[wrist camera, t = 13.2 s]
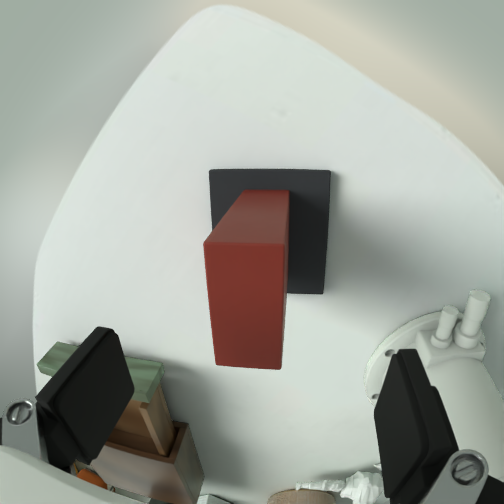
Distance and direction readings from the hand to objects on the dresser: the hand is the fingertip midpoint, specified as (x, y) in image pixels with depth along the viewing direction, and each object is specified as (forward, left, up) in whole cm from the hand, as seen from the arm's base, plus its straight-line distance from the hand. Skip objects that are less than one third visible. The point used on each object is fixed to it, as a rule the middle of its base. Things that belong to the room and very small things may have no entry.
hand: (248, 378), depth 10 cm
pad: (0, 0, -14) cm, 14 cm away
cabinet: (+30, -17, -14) cm, 37 cm away
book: (-1, -1, -13) cm, 13 cm away
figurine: (+31, +10, -14) cm, 36 cm away
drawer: (+18, -17, -13) cm, 28 cm away
